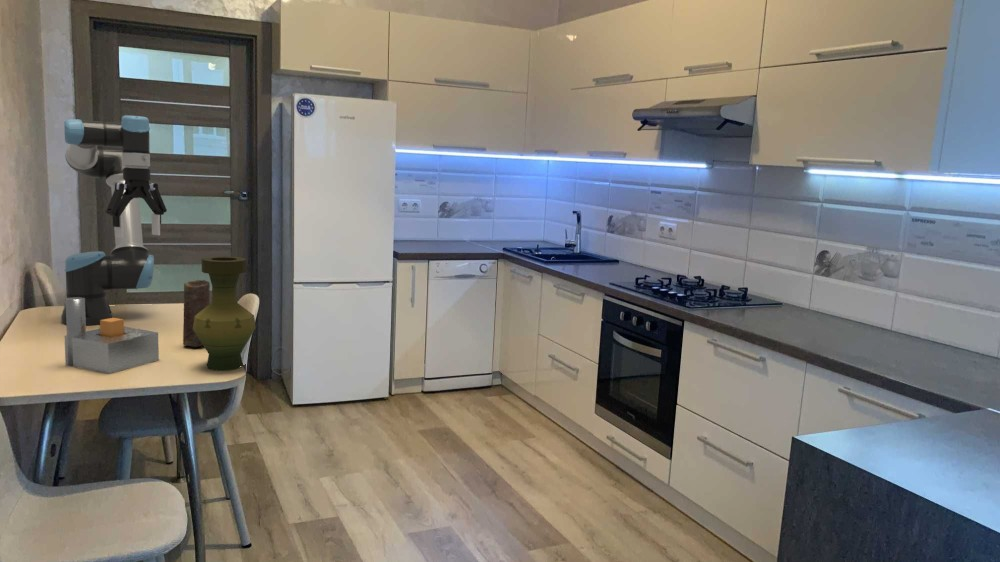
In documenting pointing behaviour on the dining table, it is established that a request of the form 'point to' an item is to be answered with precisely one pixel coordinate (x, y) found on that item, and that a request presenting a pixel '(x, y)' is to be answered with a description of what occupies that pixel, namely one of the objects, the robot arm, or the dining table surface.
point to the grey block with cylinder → (105, 344)
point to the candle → (194, 308)
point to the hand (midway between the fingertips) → (138, 236)
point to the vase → (224, 315)
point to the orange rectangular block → (112, 327)
